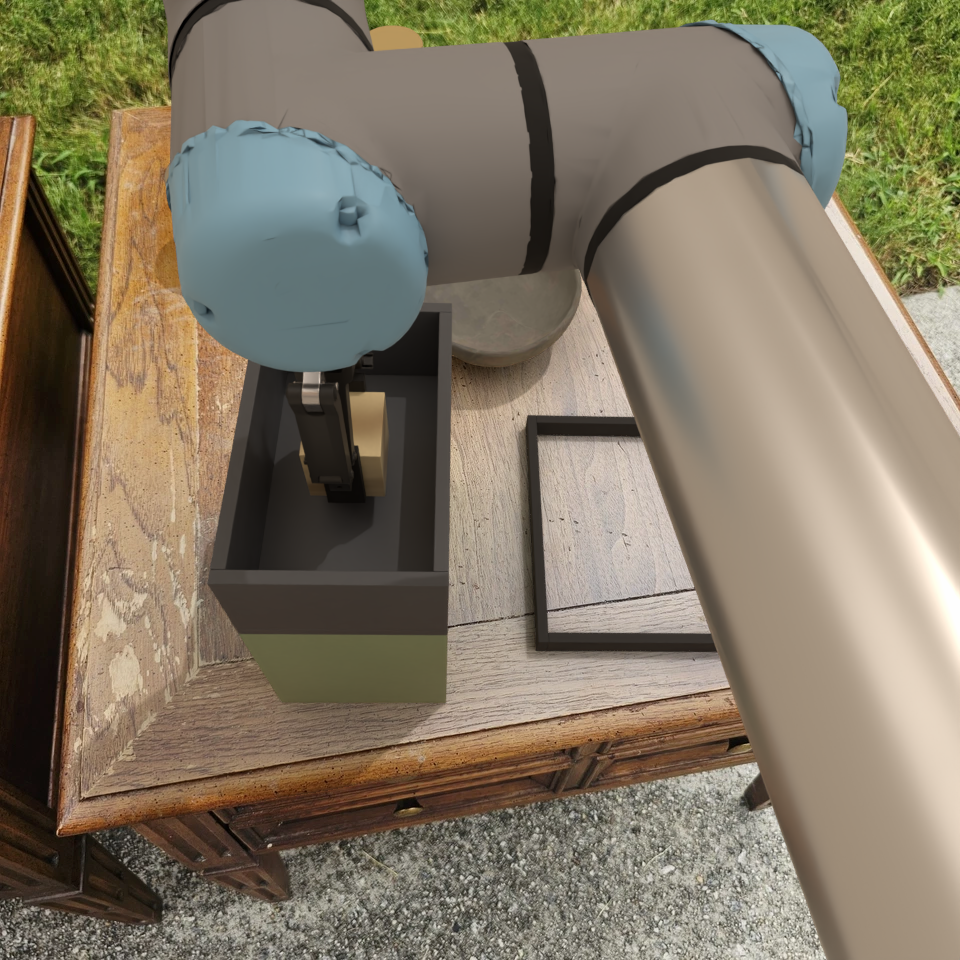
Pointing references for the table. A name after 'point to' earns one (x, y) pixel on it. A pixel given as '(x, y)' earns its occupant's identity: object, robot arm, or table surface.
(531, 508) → the rim tray
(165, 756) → the table surface
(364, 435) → the toy block
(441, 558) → the bin
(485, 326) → the bowl
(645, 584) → the table surface
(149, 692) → the table surface
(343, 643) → the stand
